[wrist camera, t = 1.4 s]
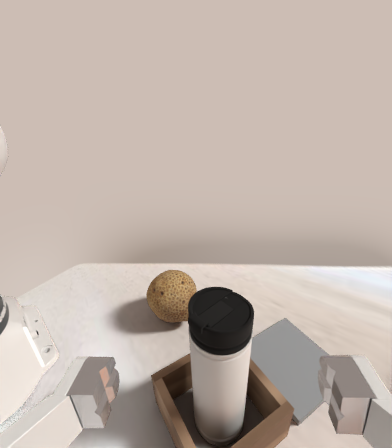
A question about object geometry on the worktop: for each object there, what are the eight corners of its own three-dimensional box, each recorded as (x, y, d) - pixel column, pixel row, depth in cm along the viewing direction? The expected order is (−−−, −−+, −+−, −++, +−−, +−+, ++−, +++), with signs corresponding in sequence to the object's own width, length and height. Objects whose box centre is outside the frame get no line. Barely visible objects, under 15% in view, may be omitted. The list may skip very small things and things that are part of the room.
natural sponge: (156, 297, 52) (150, 257, 48) (199, 298, 52) (198, 258, 47) (146, 335, 44) (137, 292, 40) (197, 337, 44) (195, 293, 39)
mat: (236, 351, 41) (236, 347, 40) (284, 321, 46) (285, 317, 45) (298, 425, 32) (299, 421, 31) (349, 378, 37) (351, 373, 36)
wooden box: (156, 402, 35) (151, 375, 32) (226, 357, 40) (227, 331, 37) (203, 512, 26) (202, 488, 23) (287, 435, 31) (294, 408, 28)
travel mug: (182, 418, 33) (170, 303, 24) (217, 382, 37) (218, 272, 27) (218, 463, 29) (220, 347, 19) (253, 417, 33) (269, 302, 23)
